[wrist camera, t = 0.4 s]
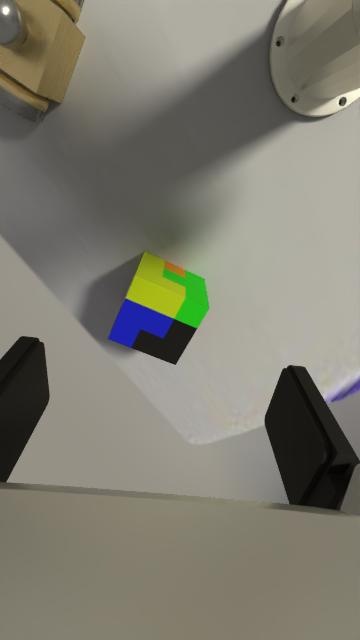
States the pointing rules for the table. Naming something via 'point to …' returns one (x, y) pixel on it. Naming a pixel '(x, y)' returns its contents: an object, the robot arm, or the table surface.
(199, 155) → the table surface
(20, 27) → the lever
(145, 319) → the puzzle toy
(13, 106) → the valve
